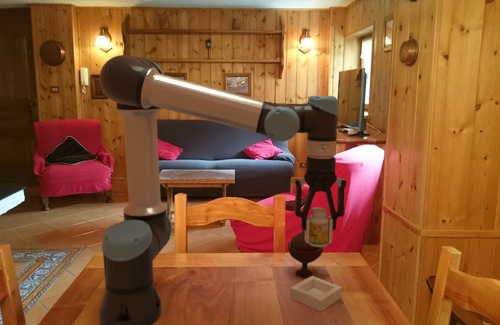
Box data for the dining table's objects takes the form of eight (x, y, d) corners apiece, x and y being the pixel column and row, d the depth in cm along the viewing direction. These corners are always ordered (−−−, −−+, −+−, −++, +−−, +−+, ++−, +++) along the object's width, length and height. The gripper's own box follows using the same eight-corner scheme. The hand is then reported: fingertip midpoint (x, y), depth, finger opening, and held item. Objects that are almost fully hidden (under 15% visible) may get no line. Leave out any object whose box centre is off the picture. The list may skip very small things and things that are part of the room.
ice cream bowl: (305, 263, 137) (307, 220, 134) (329, 276, 128) (331, 230, 125) (280, 271, 131) (280, 226, 128) (303, 285, 122) (304, 237, 119)
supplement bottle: (332, 244, 111) (333, 210, 109) (317, 249, 108) (318, 213, 107) (318, 238, 116) (319, 205, 114) (303, 242, 113) (304, 208, 111)
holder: (290, 298, 115) (290, 287, 114) (311, 285, 122) (312, 275, 121) (320, 311, 108) (321, 300, 108) (341, 297, 115) (341, 287, 115)
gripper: (287, 158, 104) (285, 246, 108) (360, 158, 104) (355, 246, 108) (284, 153, 111) (282, 236, 115) (352, 153, 111) (348, 235, 116)
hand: (318, 240), depth 112 cm, fingers closed on supplement bottle, 5 cm apart
